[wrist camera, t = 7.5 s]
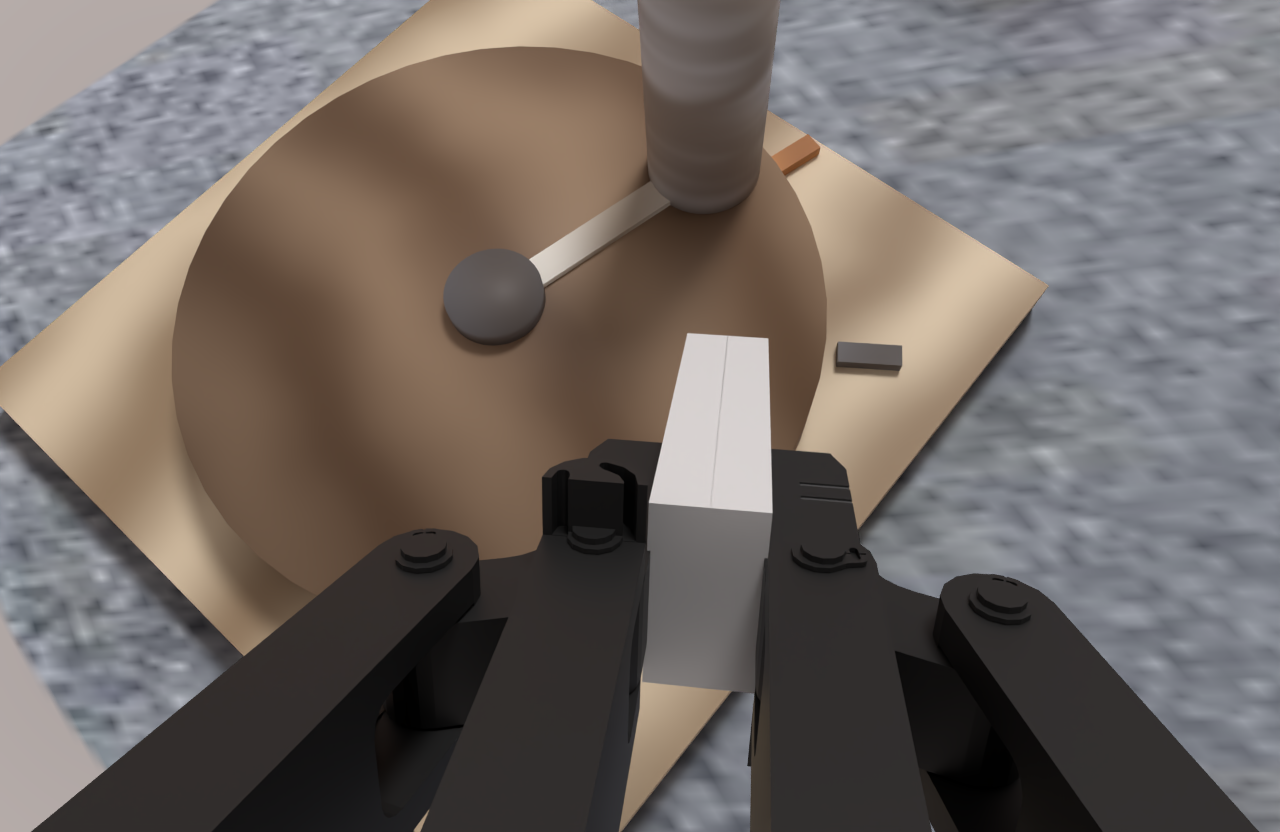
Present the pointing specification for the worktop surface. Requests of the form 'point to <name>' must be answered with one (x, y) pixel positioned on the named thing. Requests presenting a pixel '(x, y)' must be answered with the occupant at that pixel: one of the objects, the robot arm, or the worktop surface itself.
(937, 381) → the stand plate
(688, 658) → the robot arm
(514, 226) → the dial
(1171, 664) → the worktop surface
